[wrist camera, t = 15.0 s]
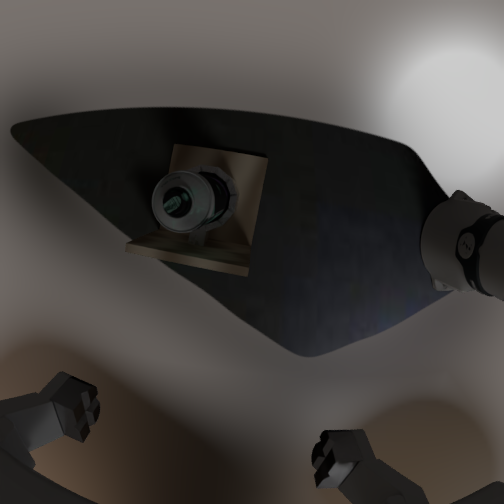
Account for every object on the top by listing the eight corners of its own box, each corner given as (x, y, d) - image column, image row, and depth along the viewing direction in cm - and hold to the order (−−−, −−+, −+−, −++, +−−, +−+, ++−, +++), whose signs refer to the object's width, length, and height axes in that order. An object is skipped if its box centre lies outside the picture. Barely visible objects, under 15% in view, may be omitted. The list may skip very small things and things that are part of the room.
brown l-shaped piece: (267, 159, 40) (273, 144, 27) (249, 251, 43) (247, 276, 30) (176, 144, 39) (144, 127, 27) (160, 234, 42) (125, 251, 30)
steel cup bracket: (244, 174, 39) (242, 171, 34) (231, 242, 41) (227, 250, 36) (189, 165, 39) (178, 161, 33) (177, 232, 41) (165, 239, 35)
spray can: (237, 189, 40) (220, 186, 20) (220, 222, 41) (188, 251, 21) (204, 172, 39) (158, 155, 20) (187, 205, 40) (129, 219, 21)
